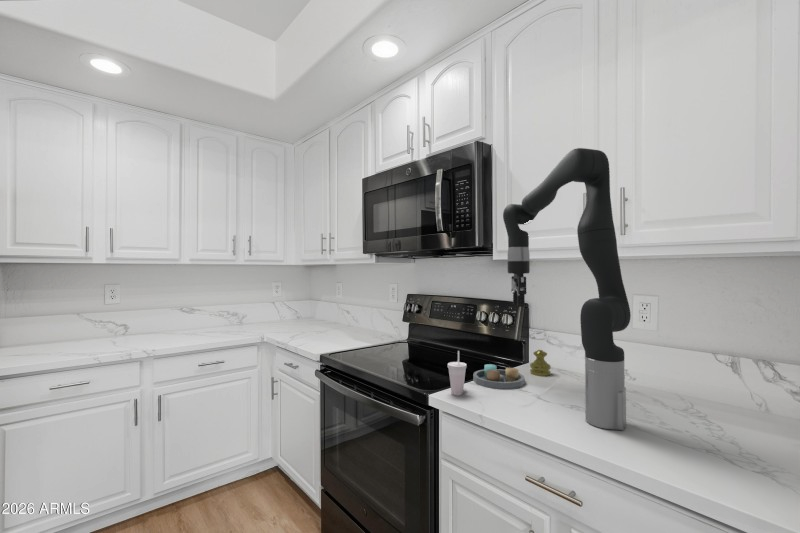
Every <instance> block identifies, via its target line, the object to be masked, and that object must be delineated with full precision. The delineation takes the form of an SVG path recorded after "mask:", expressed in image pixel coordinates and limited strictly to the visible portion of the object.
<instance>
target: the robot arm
mask: <svg viewBox="0 0 800 533" xmlns="http://www.w3.org/2000/svg"><path fill="white" fill-rule="evenodd" d="M610 175H611V174H610V162H609V158H608V155H606V153H605V152H604V151H603V150H598V149H592V148H585V147H583V148H582V147H577V148H573V149H571V150H570V151H569V152H568V153H566V154H565V155H564V156H563V158H561V160H560V161H559V162H558V163H557V165H556V166H555V167H554V168H553V169H552V170H551V171H550V173H549V174H548V175H547V176H546V177H545V178H544V180H543V181H541V183H540V184H539V185H537V186H536V187H535V188H534V189H532V190H531V191H529V193H528V194H526V195H525V196H524V197H523V198H522V200H521V204H516V203H515V204H514V203H510V204H507V205H506V206H505V208H504V210H503V213H502V217H503V223H504V226H505V230H506V233H507V238H508V239H507V243H508V246H507V247H508V248H507V274H513V275H511V277H510V278H511V293H512V304H513V305H516V306H517V307H520V308H521V307H522V308H523V307H525V302H526V301H525V296H526V295H527V277H526V276H524V275H525V274H530V271H531V269H530V267H531V266H530V265H531V264H530V263H531V262H530V257H531V256H530V247H529V246H530V242H529V241H530V240H529V238H530V236H528V235H529V233H528V231H526V230H522V229H521V228H520V226H519V225H525V224H524V223H526V222H528V221H529V220H533V221H534V220H535V218H536V217H537V216H538V214H539V213H540V212H542V210H544V209H545V208H547V207H548V206H549V205H551V204H552V203H553V202H554V201H555V199H556V196H557V194H558V191H559V189H560V188H562V187H563V186H565V185H567V184H569V183H572V182H574V183H584V185H585V192H586V204H585V208H584V209H583V212H582V214H581V216H580V218H579V221H578V225H577V228H576V229H577V240H578V248H579V253H580V255H581V257H582V260H584V262H585V264H586V265H587V268H588V270H590V272H591V274H592V275H593V278H594V279H595V283H596V286H597V291H598V297H597V298H596V297H595V298H590V299H588V300H586V301H584V303H583V304H582V306H581V309H580V316H579V317H580V336H581V344H582V347H583V350H584V367H585V368H584V369H585V371H584V374H585V375H584V382H585V384H584V385H585V386H584V387H585V389H584V391H585V392H584V395H585V398H584V401H585V402H584V404H585V406H584V407H585V408H584V410H585V411H584V412H585V413H584V414H585V421H586V422H587V423H588V424H589V425H592V426H594V427H597V428H600V429H605V430H616V431H617V430H619V431H624V430H625V427H626V425H627V400H626V399H627V390H626V389H627V388H626V387H625V382H626V381H625V380H626V379H625V378H626V377H625V350H624V349H623V348H622V347H620V346H618V345H616V343H615V341H614V334H613V333H617V332H621V331H624V330H626V329H627V327H628V326H629V324H630V323H631V316H632V315H631V309H630V308H631V307H630V305H629V304H630V303H629V299H628V295H627V292H626V288H625V285H624V280H623V276H622V270H621V264H620V258H619V252H618V242H617V236H616V235H617V234H616V229H615V223H614V218H613V217H614V216H613V208H612V201H611V180H610V178H611V176H610Z"/></svg>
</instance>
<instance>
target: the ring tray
mask: <svg viewBox="0 0 800 533" xmlns="http://www.w3.org/2000/svg"><path fill="white" fill-rule="evenodd" d="M497 371H499V372H500V382H496V381H490V380H487V379H486V378H484V369H479V370H476V371H474V372H473V375H472V377H473V378H472V381H473V382H474V383H475V384H476V385H479V386H481V387H485V388H490V389H495V390H496V389H497V390H513V389H519V388H522V387H523V386H525V385H526V384H525V382H526V379H525V376H524V375H523V374H521V373H520V372H518V375H519V380H517V381H512V382H506V369H502V368H501V369H500V368H499V369H497Z"/></svg>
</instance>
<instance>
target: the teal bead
mask: <svg viewBox="0 0 800 533" xmlns="http://www.w3.org/2000/svg"><path fill="white" fill-rule="evenodd" d="M483 366H484V368H483V370H484V378H486V379H487V371H488V370H497V368H498V367H497V365H495V364H491V363H489V364H484V365H483Z"/></svg>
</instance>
